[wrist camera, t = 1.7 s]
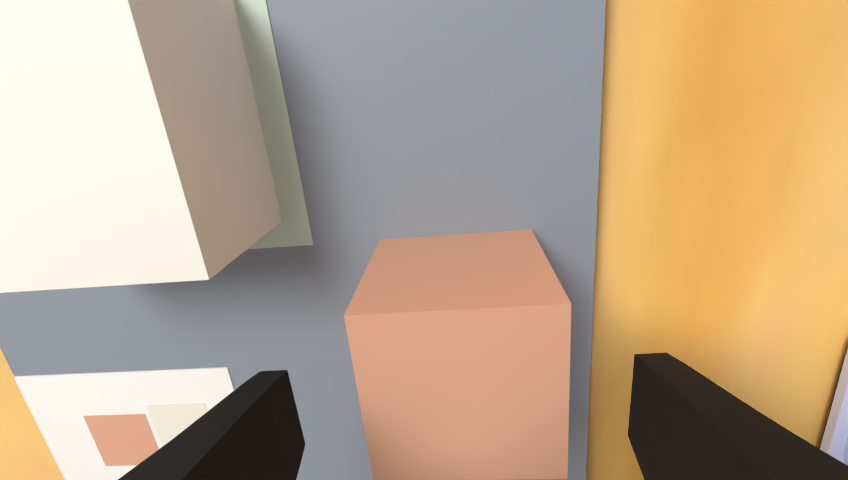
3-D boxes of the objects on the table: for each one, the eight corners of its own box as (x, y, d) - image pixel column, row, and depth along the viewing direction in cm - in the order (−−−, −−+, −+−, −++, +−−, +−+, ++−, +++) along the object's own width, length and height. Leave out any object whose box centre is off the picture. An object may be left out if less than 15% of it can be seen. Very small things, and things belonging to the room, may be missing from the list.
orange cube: (533, 359, 14) (567, 478, 10) (396, 365, 14) (373, 481, 10) (531, 229, 12) (571, 303, 8) (379, 240, 13) (343, 315, 9)
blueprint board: (578, 493, 17) (584, 514, 16) (100, 499, 18) (84, 518, 18) (609, -402, 8) (625, -452, 8) (-247, -230, 10) (-306, -257, 10)
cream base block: (281, 221, 13) (208, 279, 9) (93, 235, 13) (-51, 296, 9) (231, -11, 11) (109, -63, 7) (11, 17, 11) (-215, -16, 7)
